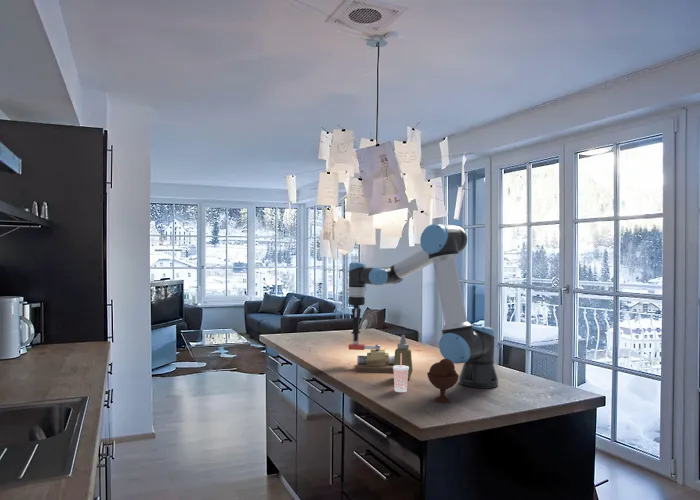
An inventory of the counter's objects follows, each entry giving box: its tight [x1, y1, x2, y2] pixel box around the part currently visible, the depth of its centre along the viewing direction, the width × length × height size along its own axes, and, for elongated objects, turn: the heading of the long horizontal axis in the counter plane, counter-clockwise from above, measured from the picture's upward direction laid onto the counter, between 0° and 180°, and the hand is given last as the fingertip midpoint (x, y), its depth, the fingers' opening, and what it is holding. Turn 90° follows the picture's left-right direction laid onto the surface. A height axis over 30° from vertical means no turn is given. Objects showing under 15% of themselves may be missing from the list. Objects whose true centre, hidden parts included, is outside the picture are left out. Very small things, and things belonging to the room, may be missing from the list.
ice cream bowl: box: [426, 358, 460, 404], centre depth 182 cm, size 11×11×15 cm
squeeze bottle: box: [393, 334, 413, 380], centre depth 212 cm, size 8×8×18 cm
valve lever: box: [348, 343, 381, 351], centre depth 230 cm, size 14×3×2 cm, turn 82°
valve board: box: [356, 349, 395, 374], centre depth 230 cm, size 14×18×8 cm
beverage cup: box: [393, 353, 409, 393], centre depth 194 cm, size 6×6×14 cm
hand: (355, 347), depth 235 cm, fingers closed
